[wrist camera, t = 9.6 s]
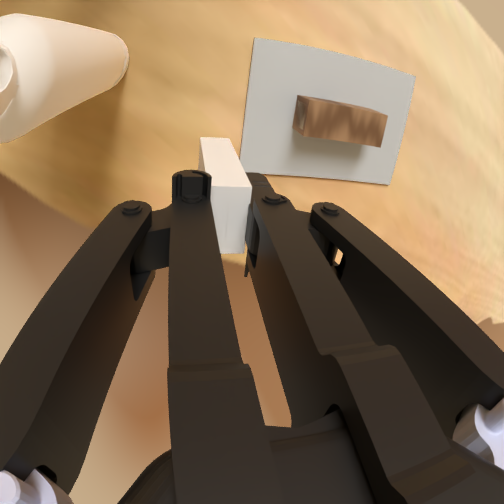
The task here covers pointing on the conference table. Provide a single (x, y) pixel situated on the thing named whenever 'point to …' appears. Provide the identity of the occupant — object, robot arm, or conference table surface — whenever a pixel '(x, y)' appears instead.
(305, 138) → the felt mat
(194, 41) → the conference table surface
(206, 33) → the conference table surface
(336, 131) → the walnut block
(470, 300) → the conference table surface
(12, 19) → the bottle
